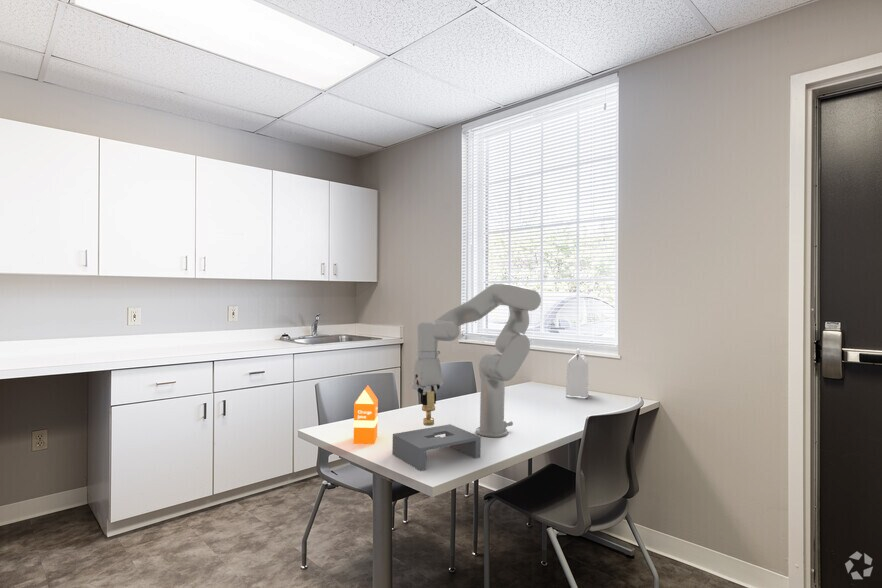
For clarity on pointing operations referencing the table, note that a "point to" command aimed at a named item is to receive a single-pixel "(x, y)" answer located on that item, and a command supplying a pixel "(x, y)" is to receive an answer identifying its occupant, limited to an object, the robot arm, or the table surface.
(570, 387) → the milk
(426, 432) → the keyhole board
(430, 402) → the brass peg
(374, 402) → the orange juice
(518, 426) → the table surface
